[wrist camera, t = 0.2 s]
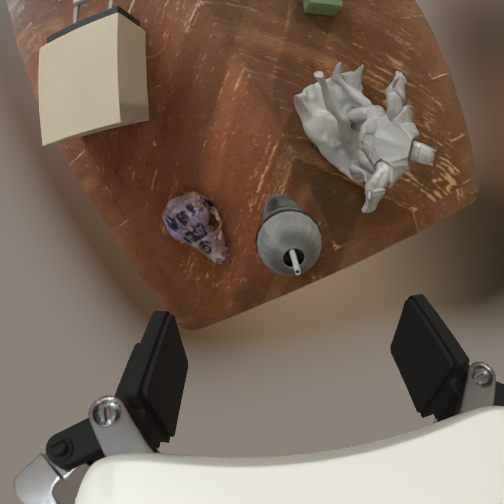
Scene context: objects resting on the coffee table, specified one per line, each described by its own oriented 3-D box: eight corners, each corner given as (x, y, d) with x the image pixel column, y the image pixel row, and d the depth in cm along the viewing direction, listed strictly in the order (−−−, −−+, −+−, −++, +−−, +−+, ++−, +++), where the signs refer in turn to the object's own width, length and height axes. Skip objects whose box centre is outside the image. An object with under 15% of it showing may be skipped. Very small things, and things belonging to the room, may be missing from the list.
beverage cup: (262, 237, 42) (270, 326, 25) (248, 192, 39) (244, 258, 21) (308, 224, 41) (348, 305, 24) (297, 178, 38) (336, 232, 20)
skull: (241, 250, 43) (232, 271, 38) (199, 264, 45) (186, 285, 40) (205, 179, 39) (190, 190, 33) (163, 200, 41) (145, 213, 36)
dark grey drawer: (78, 12, 23) (51, 1, 16) (141, -12, 23) (121, -31, 16) (78, 120, 32) (47, 124, 25) (142, 102, 32) (117, 100, 25)
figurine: (404, 162, 37) (480, 197, 21) (337, 199, 40) (388, 256, 24) (352, 57, 30) (417, 26, 14) (276, 93, 33) (296, 70, 17)
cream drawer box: (75, 55, 28) (39, 47, 19) (145, 31, 28) (118, 12, 19) (79, 137, 35) (42, 145, 26) (149, 120, 34) (120, 122, 26)
